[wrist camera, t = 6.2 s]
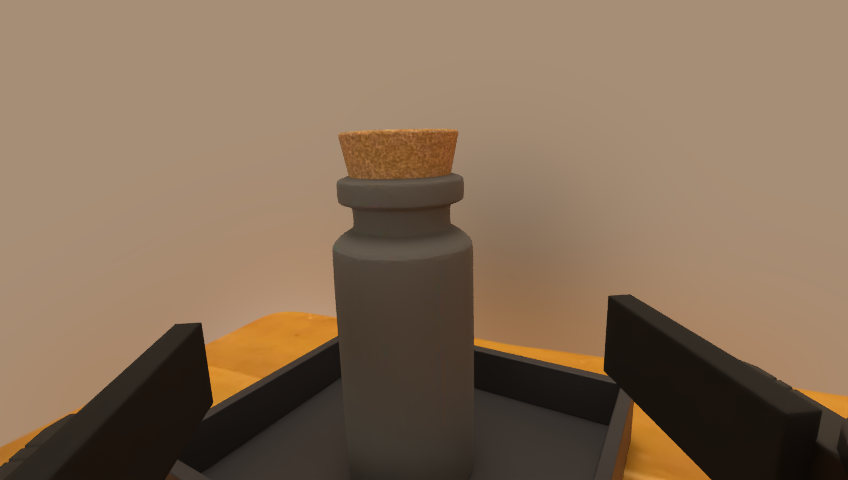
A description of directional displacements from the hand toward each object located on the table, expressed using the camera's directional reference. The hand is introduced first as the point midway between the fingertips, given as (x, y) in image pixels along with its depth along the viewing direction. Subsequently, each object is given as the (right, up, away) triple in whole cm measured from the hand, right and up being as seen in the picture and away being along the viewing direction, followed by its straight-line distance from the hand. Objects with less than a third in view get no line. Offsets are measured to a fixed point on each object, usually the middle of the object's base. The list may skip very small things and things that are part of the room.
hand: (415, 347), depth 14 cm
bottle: (0, -7, +6) cm, 10 cm away
